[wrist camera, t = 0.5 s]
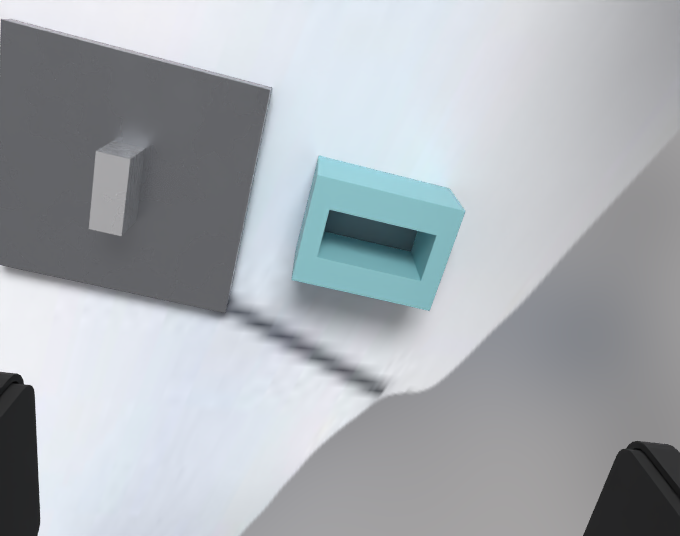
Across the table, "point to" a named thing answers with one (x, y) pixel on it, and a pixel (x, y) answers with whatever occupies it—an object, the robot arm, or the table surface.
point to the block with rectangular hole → (370, 258)
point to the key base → (176, 173)
